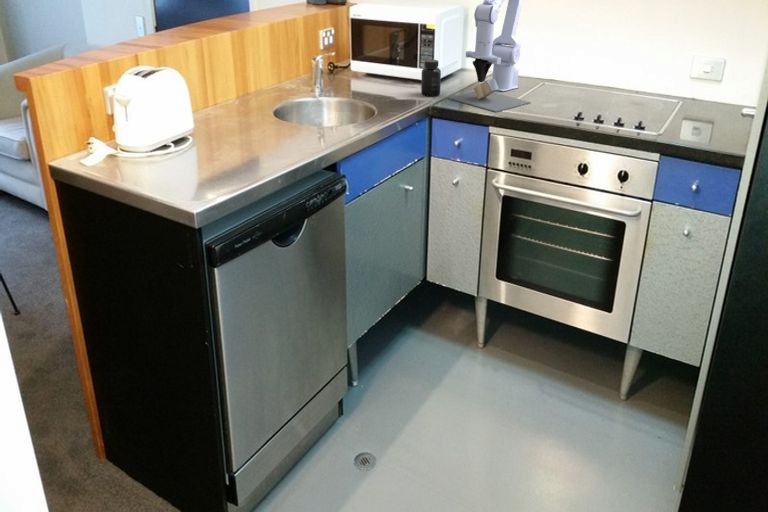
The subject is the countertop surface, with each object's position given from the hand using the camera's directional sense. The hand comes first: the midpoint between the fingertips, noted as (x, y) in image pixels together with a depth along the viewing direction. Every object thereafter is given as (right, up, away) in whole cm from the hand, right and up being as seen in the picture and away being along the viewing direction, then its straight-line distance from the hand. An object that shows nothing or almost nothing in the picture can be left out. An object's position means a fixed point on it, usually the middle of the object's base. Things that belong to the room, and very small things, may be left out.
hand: (481, 81), depth 248 cm
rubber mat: (+3, -7, 0) cm, 7 cm away
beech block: (0, -4, +1) cm, 4 cm away
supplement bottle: (-17, -3, +7) cm, 19 cm away
